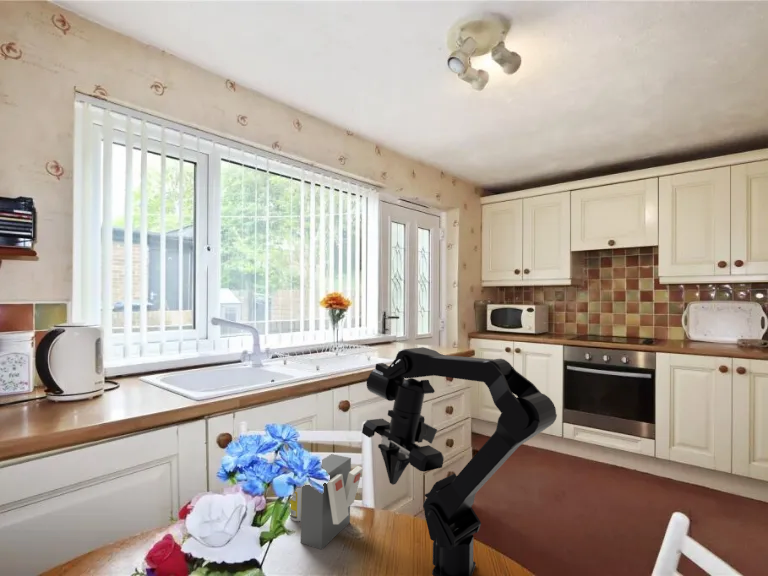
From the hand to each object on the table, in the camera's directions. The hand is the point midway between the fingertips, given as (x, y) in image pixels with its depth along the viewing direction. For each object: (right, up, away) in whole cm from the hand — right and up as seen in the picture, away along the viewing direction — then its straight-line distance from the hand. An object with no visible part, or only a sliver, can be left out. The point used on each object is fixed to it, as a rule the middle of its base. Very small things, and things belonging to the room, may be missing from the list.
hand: (392, 483), depth 84 cm
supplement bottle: (-20, -12, +9) cm, 25 cm away
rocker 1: (-10, -6, -2) cm, 12 cm away
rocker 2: (-10, -6, +4) cm, 12 cm away
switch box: (-14, -11, +2) cm, 18 cm away
